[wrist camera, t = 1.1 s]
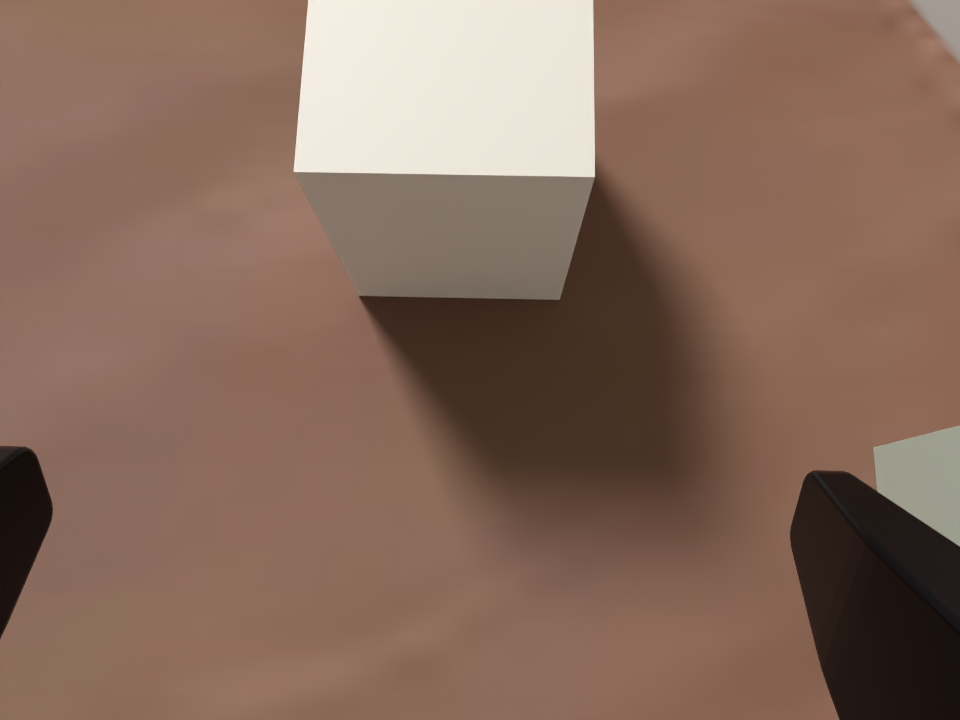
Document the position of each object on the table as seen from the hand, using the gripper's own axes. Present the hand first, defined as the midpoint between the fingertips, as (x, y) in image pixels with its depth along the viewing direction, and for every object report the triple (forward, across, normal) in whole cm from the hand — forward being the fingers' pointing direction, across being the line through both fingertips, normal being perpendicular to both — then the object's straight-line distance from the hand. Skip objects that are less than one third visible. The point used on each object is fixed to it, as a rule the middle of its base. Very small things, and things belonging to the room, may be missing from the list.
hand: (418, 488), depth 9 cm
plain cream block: (+16, 0, +2) cm, 16 cm away
